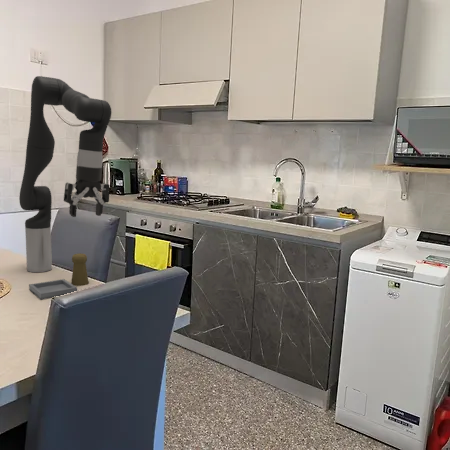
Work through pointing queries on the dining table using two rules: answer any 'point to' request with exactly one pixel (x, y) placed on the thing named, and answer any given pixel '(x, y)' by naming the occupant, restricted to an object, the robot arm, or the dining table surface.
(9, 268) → the dining table surface
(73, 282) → the cork
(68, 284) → the tray
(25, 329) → the dining table surface
